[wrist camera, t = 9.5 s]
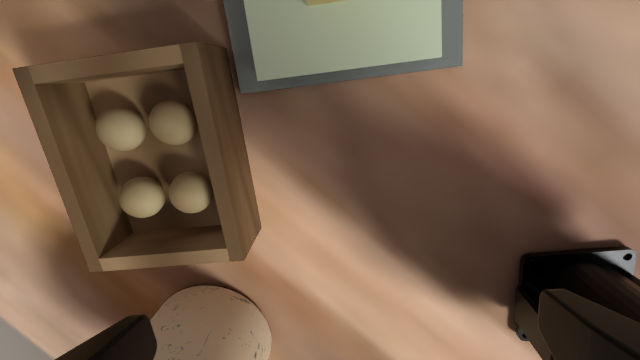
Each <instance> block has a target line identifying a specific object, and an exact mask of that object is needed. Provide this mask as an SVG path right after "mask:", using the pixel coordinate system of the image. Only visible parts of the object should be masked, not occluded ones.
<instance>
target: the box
mask: <svg viewBox="0 0 640 360" xmlns="http://www.w3.org/2000/svg"><path fill="white" fill-rule="evenodd" d="M12 69H13V72H14V75H15V77H16V80H17V82H18V85H19V88H20V90H21V93H22V95H23V98H24V101H25V103H26V106H27V109H28V111H29V114H30V116H31V119H32V122H33V124H34V127H35V129H36V132H37V135H38V137H39V140H40V143H41V145H42V148H43V150H44V153H45V156H46V158H47V161H48V163H49V166H50V169H51V171H52V174H53V177H54V179H55V182H56V184H57V187H58V190H59V192H60V195H61V197H62V200H63V203H64V205H65V208H66V211H67V213H68V216H69V218H70V221H71V224H72V226H73V229H74V231H75V234H76V237H77V239H78V242H79V245H80V247H81V250H82V252H83V255H84V258H85V260H86V263H87V265H88V268H89V271H90V272H101V271H114V270H127V269H140V268H153V267H166V266H179V265H192V264H205V263H218V262H231V261H244V260H245V258H246V256H247V254H248V252H249V250H250V248H251V246H252V245H253V243H254V241H255V239H256V237H257V235H258V233H259V231H260V229H261V223H260V218H259V212H258V207H257V202H256V197H255V192H254V187H253V182H252V177H251V171H250V166H249V161H248V156H247V151H246V146H245V141H244V135H243V130H242V125H241V120H240V115H239V110H238V105H237V100H236V94H235V89H234V84H233V79H232V74H231V69H230V64H229V58H228V53H227V49H226V48H222V47H217V46H213V45H209V44H204V43H200V42H190V43H183V44H176V45H169V46H163V47H156V48H149V49H142V50H135V51H128V52H122V53H115V54H108V55H101V56H94V57H88V58H81V59H74V60H67V61H60V62H53V63H47V64H40V65H33V66H26V67H19V68H12Z"/></svg>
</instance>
